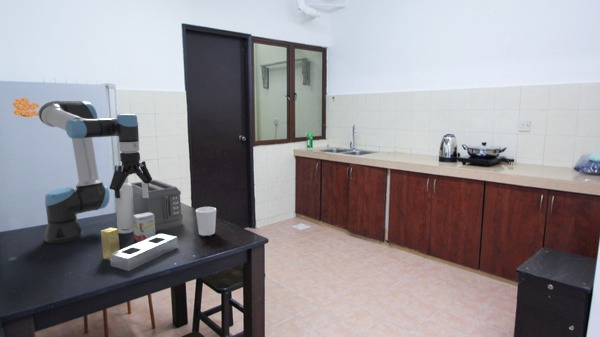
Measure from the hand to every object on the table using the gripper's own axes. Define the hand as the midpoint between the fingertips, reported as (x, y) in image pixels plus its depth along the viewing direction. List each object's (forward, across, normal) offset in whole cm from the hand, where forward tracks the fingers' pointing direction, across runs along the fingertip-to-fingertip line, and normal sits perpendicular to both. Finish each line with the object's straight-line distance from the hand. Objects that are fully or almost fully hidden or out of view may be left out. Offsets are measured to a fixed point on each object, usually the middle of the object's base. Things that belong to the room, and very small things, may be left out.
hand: (133, 201), depth 157 cm
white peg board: (+22, -3, -8) cm, 24 cm away
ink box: (+23, +13, +8) cm, 27 cm away
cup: (+22, +29, -15) cm, 40 cm away
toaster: (+23, +35, +24) cm, 48 cm away
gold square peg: (+22, -9, +4) cm, 24 cm away
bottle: (+23, +18, +25) cm, 38 cm away
